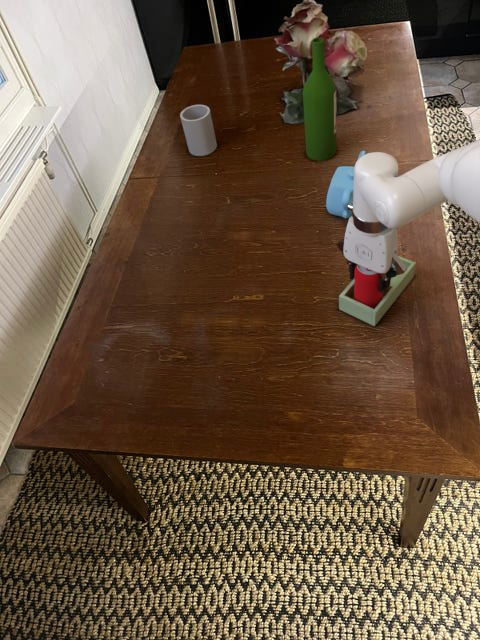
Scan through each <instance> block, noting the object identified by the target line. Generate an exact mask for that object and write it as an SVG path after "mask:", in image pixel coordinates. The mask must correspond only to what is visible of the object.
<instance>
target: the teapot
mask: <svg viewBox="0 0 480 640" xmlns="http://www.w3.org/2000/svg"><path fill="white" fill-rule="evenodd" d="M365 154H366V151H365V150H361V151H360V153H359V154H358V158H357V160H358V159H359V158H360V157H362V156H363V155H365ZM354 167H355V166H351V165H348V166H346V165H342V166H338V167H337V168H336V170H335V172H334V174H333V176H332V178H331V181H330V184H329V187H328V191H327V194H326V201H325V202H326V203H325V207H326V210H327V212H328V213H329V214H330V215H333V216H337V217H340V218H341V217H342V218H343V219H346V220H347V219H349V218H350V217H351V216H352V211H351V210H348V205H349V203H352V204H353V186H354Z"/></svg>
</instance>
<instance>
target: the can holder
mask: <svg viewBox="0 0 480 640" xmlns="http://www.w3.org/2000/svg"><path fill="white" fill-rule="evenodd" d="M398 257H399V258H400V259H401V260H402V262H403V263H404V264H405V266H406V267H407V270H406V271H405V273H403V274H400V275H396V277H393V278H391V282H390V286H389V287H388V288H387V289H386V288H385V289H384V290H383V299H382V301H381V302H380V303H379V304H378V306H377V307H376V308H375V309H373V308H370V307H368V306H366V305H364V304H362V303H360V302H357V301H355V300H354V279H353V280H351V281H350V282H349V283H348V285H347V286H346V287H345V288H344V289H343V291H342V292H341V293H340V294H339V296H338V310H340V311H342V312H344V313H346V314H348V315H350V316H352V317H354V318H356V319H358V320H361V321H363V322H364V323H366V324H369V325H371V326H373V327H376V325H377V324H378V323H379V322H380V321H381V319H382V318H383V317H384V315H385V314H386V313H387V312H388V310H389V309H390V308H391V306H392V305H393V304H394V303H395V302H396V300H397V299H398V297H400V295H401V293H402V292H403V291H404V290H405V289H406V287H407V286H408V285H409V284H410V282H411V281H412V280H413V279H414V276H415V271H416V266H417V265H416V264H417V262H415V261H413V260H410V259H407V258H405V257H402V256H400V255H398ZM392 266H393V268H395V266H394V265H393V264H392Z"/></svg>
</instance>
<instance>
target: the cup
mask: <svg viewBox="0 0 480 640" xmlns="http://www.w3.org/2000/svg"><path fill="white" fill-rule="evenodd" d="M179 115H180V116H179V118H180V121H181V125H182V128H183V132H184V136H185V141H186V145H187V148H188V152H189V153H190V155H192V156H196V157H204V156H207V155H210V154H212V153H213V152H215V150H217V147H218V144H217V143H218V142H217V138H216V133H215V128H214V123H213V119H212V114H211V109H210V107H209V106H207V105H204V104H194V105H190V106H187V107H185V108H184V109H183V110H182V111H181V112H180V114H179Z"/></svg>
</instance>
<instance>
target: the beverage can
mask: <svg viewBox="0 0 480 640" xmlns="http://www.w3.org/2000/svg"><path fill="white" fill-rule="evenodd" d="M381 277H382V276H381V274H380V273H378V272H375V271H373V270H370V269H368V268H365V267H363V266H361V265H358V264H357V265H356V267H355V273H354V300H355V301H357V302H360V303H362V304H364V305H366V306H368V307H370V308H373V309H375V308H376V307H377V306H378V304H379V303H380V302H381V301H382V299H383V292H382V293H381V292H379V291H378V290H379V280H380V278H381Z"/></svg>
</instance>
